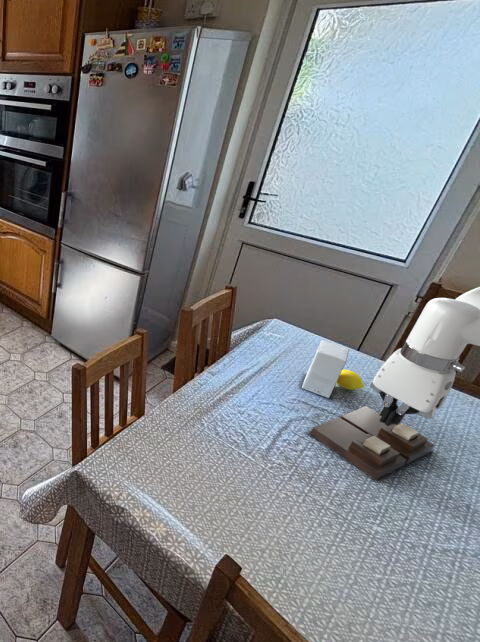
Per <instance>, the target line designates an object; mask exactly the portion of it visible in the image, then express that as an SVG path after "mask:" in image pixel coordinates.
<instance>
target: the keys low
mask: <svg viewBox="0 0 480 642" xmlns="http://www.w3.org/2000/svg"><path fill="white" fill-rule="evenodd" d="M381 417H382V416H380V413H379V412H377V411H376V410H374V409H372V408H370V407H368V406H367V405H365V406H362V407H359V408H358V409H355V410H353V411H350V412H348V413H345V414H343V415H341V416H340V418H341V419H343V420H345V421H346V422H348V423H349V424H351V425H353V426H354V427H356V428H357V429H359V430H361V431H362V432H364V433H365V434H370V435H372V436H375V437H377V438H379V439H380V440H382V441H384V442H385V443H387V444H388V445H390V447H391V448H393V449H394V450H396V451H397V452H399V453H400V454H399V455H401V456H402V457H404V458H406V459H407V460H406V461H405V463H404V465H407V464H409V463H412V462H413V461H415V460H417V459H419V458H421V457H423V456H425V455H427V454H429V453H431V451H433V449H434V447H435V444H433V443H431V442H430V441H429V439H428V438H427V437H425V436H424V435H422V434H420V433H419V434H418V435H417V437H416V438H414V439H412V440H410V441H408V440H406V439H404V438H403V437H401V436H399V435H398V434H396V433H394V432H393V431H392V430H393V428H394V427H395V426H397V425H399V424H401V422H400V423H399V424H397V425H396V424H392V425H390V426H387V425H385V423H382V422H380V419H381Z"/></svg>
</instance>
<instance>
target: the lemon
mask: <svg viewBox="0 0 480 642" xmlns="http://www.w3.org/2000/svg"><path fill="white" fill-rule="evenodd" d="M336 385H338V386H340V387H341V388H342V389H346V390H349V391H354V390H359V389H363V388H365V384H364V381H363V378H362V377H361V375H359V374H358V373H356V372H355V371H353V370H350V369H343V370H342V372H341V374H340V376H339V378H338V380H337V382H336Z"/></svg>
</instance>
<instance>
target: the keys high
mask: <svg viewBox="0 0 480 642" xmlns="http://www.w3.org/2000/svg"><path fill="white" fill-rule="evenodd" d="M309 435H310V436H312V437H313V438H315V439H316V440H317V441H319V442H321V443H322V444H323V445H325V446H326V447H328V448H329V449H331V450H332V451H334V452H335V453H336V454H338V455H339V456H341V457H342V458H344V459H345V460H346V461H348V462H350V463H351V464H352V465H354V466H355V467H357V468H358V469H360V470H361V471H363V472H364V473H365V474H367V475H368V476H369V477H371V478H373V479H374V480H377V479H380V478H381V477H384V476H385V475H387V474H390V473H391V472H393V471H396V470H398V469H399V468H401V467H403V466H404V465H405V464H404V463H405V461H406V460H407V459H406V458H404V457H402V456H401V455H399V454H400V453H399V452H397V451H396V450H394V449H393V448H391V447H390V448H389V450H388V451H387V452H385V453H383V454H381V455H379V454H377V453H376V452H374V451H372V450H371V449H369V448H368V447H366V446H365V445H363V443H364V442H365V440H366V439H368V438H370V437H372V435H370V434H365V433H364V432H362V431H361V430H359V429H357V428H356V427H354V426H353V425H351V424H349V423H348V422H346V421H345V420H343V419H341V416H338V417H335V418H333V419H331V420H328V421H325V422H323V423H321V424H318V425H316V426H313V427H312V429H311V431H310V433H309Z"/></svg>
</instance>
